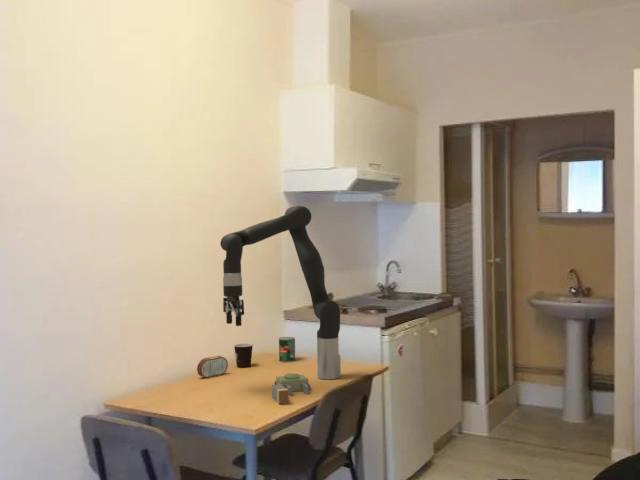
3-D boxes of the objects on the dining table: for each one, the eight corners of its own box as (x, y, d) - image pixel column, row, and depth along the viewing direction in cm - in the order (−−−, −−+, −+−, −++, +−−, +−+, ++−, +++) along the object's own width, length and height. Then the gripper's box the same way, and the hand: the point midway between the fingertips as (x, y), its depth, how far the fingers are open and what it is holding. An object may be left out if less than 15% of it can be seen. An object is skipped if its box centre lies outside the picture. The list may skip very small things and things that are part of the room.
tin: (225, 372, 302) (224, 354, 301) (229, 373, 299) (228, 355, 299) (196, 378, 291) (196, 359, 291) (201, 379, 289) (200, 360, 289)
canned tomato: (277, 362, 323) (277, 339, 323) (281, 358, 331) (280, 336, 330) (293, 362, 322) (293, 339, 321) (296, 359, 329) (296, 336, 329)
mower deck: (302, 384, 276) (302, 371, 276) (313, 393, 261) (313, 379, 261) (274, 387, 272) (274, 373, 272) (284, 396, 258) (283, 381, 257)
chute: (281, 397, 256) (281, 383, 256) (288, 403, 247) (288, 389, 247) (272, 398, 255) (272, 384, 255) (278, 404, 246) (278, 390, 245)
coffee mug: (251, 368, 310) (251, 346, 310) (233, 368, 310) (232, 347, 310) (254, 363, 321) (254, 342, 321) (236, 363, 322) (236, 342, 321)
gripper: (249, 284, 265) (250, 325, 265) (233, 282, 277) (234, 321, 277) (231, 286, 261) (233, 327, 261) (216, 283, 273) (217, 323, 273)
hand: (233, 324), depth 269 cm, fingers open, 8 cm apart
